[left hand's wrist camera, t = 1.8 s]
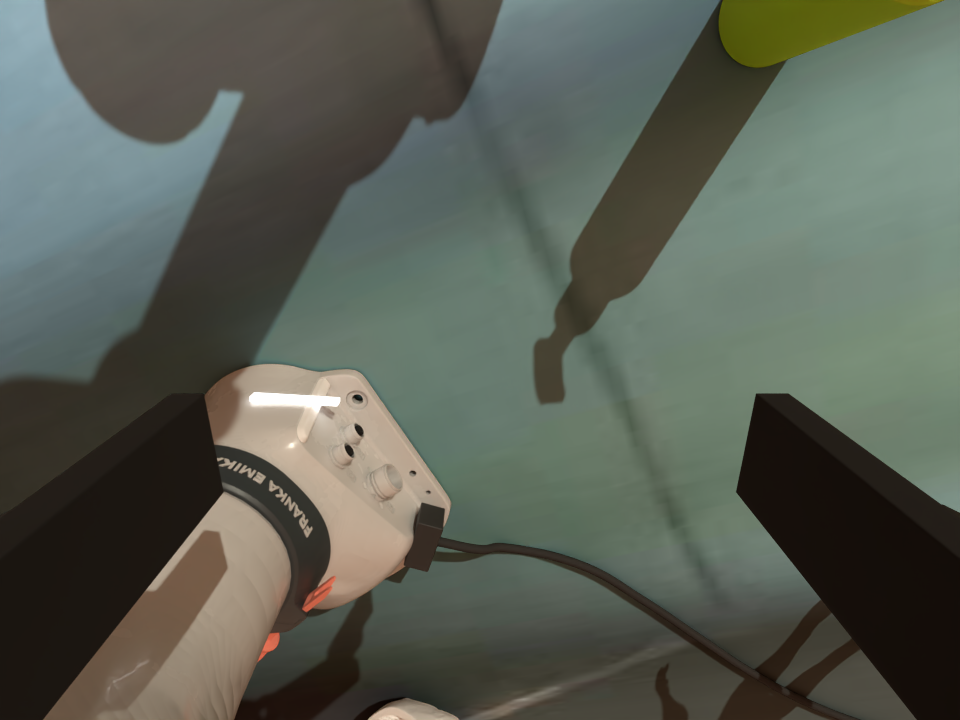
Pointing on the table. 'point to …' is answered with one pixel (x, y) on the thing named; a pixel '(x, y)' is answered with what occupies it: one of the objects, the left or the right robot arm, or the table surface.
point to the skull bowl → (410, 711)
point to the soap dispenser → (799, 25)
